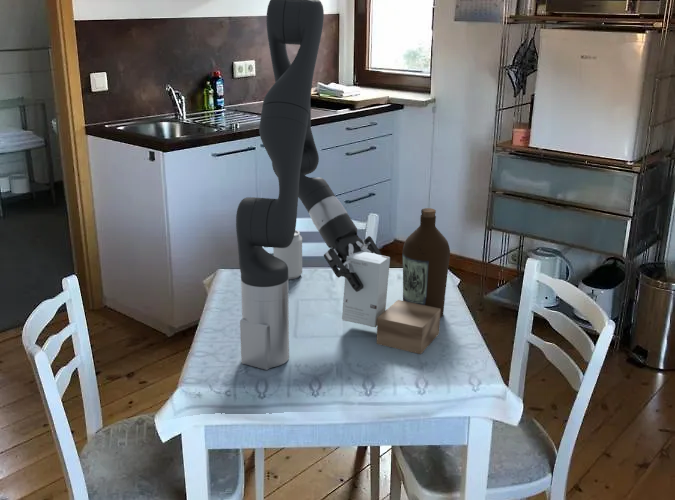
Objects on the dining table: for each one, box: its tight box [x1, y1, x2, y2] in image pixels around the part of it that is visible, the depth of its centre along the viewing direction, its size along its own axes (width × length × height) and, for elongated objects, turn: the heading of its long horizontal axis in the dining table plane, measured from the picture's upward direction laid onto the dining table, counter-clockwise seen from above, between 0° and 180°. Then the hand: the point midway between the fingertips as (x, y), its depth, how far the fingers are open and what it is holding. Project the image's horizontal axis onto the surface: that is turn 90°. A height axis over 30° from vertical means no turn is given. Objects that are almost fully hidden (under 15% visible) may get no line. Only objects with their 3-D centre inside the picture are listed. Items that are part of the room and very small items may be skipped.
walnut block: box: [376, 299, 441, 355], centre depth 157 cm, size 11×10×6 cm
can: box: [272, 229, 303, 280], centre depth 191 cm, size 8×8×12 cm
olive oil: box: [402, 207, 451, 319], centre depth 166 cm, size 11×11×25 cm
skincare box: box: [341, 251, 391, 328], centre depth 159 cm, size 8×6×15 cm
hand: (371, 285), depth 158 cm, fingers closed on skincare box, 7 cm apart
